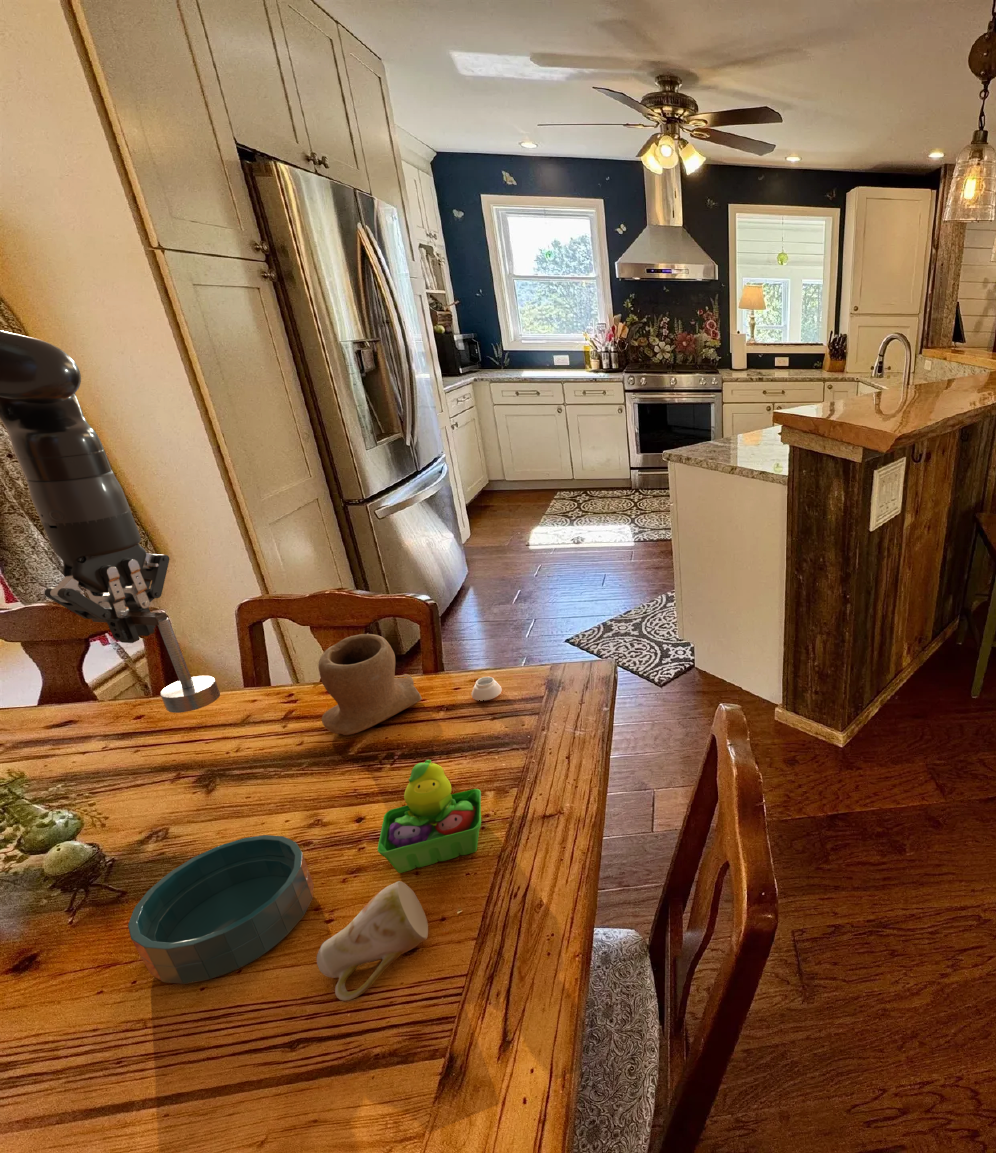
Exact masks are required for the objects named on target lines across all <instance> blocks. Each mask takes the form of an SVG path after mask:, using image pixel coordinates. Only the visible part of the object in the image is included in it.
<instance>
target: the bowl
mask: <svg viewBox="0 0 996 1153" xmlns="http://www.w3.org/2000/svg"><path fill="white" fill-rule="evenodd" d="M314 886H315V884H314V882H313V879H312V875H311V873H310V870H309V868H308V864H307V862H306V859H305V855H304V854H303V851H302V849H301V848H300V846H299V844H298V843H297V842H296V841H294V840H292V839H290V838H289V837H286V836H283V835H271V834H261V835H254V836H248V837H242V838H240V839H235V840H233V841H230V842H226V843H223V844H220V845H217V846H215V847H213V848H211V849H209V850H206V851H204V852H202V853H200V854H198V855H196V856H193V857H191V858H189V859H188V860H187V861H185V862H184V863H182V864H180V865H179V866H177V867H176V868H174V869H172V870H171V871H170V872H168V873H167V874H165V875H164V876H163V877H162V878H161V879H159V880H158V881H157V882H156V883H155V884H154V885H153V886H152V887H150V888H149V889H148V890H147V891H146V893H145V894H144V895H143V896H142V898H141V899H140V900H139V901H138V903H137V904H136V905H135V906H134V908H133V911H132V913H131V916H130V918H129V921H128V923H127V928H128V932H129V937H130V940H131V942H132V943H133V945H134V948H135V949H136V951H137V952H138V954H139V956H140V958H141V960H142V962H143V964H144V966H145V967H146V969H147V971H148V973H149V975H151V976H153V977H154V978H156V979H157V980H159V981H160V982H161V983H168V984H177V985H178V984H180V985H186V984H187V985H188V984H192V983H197V982H203V981H209V980H212V979H215V978H218V977H222V976H224V975H228V974H230V973H232V972H235V971H237V970H240V969H241V968H244V967H245V966H247V965H249V964H251V963H253V962H254V961H256V960H257V959H259V958H261V957H262V956H264V955H265V954H266V953H268V952H270V951H271V950H272V949H273V948H274V947H276V946H277V945H279V943H281V942H282V941H283V940H284V939H285V938H286V937H287V936H288V935H289V934H290V933H291V932H292V931H293V930H294V928H296V926H297V925H298V924H299V923H300V921H301V920H302V919H303V918H304V917H305V915H306V913H307V911H308V909H309V907H310V905H311V903H312V902H313V899H314V888H315V887H314Z"/></svg>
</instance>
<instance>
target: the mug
mask: <svg viewBox="0 0 996 1153" xmlns="http://www.w3.org/2000/svg"><path fill="white" fill-rule="evenodd" d="M428 935H429V923H428V919H427V916H426V913H425V911H424V908H423V906H422V904H421V902H420V901H419V898H418V896H417V895H416V893H415V892H414V890H413V889H412V888H411V887H410V886H408V885H407V883H405V882H403V881H402V880H398V881H396V882H394V883H392V884H391V883H390V884H388V885H387V886H386V887H384V888H382V889H381V890H379V891H378V892H377V893H376V894H375V895H374V896H373V897H372V898H371V899H370V900H369V901H368V902H367V903H366V904H365V905H364V906H363V908H362V909H361V910H360V911H359V912H358V914H357V915H356V916H355V917H354V918H353V919H352V920H351V921H350V922H349V923H348V924H347V925H346V926H345V927H344V928H342V929H341V930H339V931H338V932H337V933H335V934H334V935H332V936H331V937H329V938H328V939H326V940H324V941H323V942H322V944H321V945H320V947H319V950H318V952H317V954H316V965H317V968H318V970H319V972H320V973H321V974H322V975H323V976H324V977H327V978H331V979H338V980H337V983H336V984H335V987H334V995H335V997H336V998H337V999H338V1000H339V1001H342V1002H346V1001H351V1000H354V999H356V998H358V997H359V996H361V995H362V994H364V993H365V992H367V990H368V989H370V988H371V987H372V985H373V984H374V983H375V982H376V981H377V980H378V978H379V977H380V976H381V975H382V974H383V972H384V971H385V970H386V969H387V968H388V967H389V966H391V964H392V963H394V962H395V961H397V959H398V958H399V957H400V956H401V955H403V954H405V953H407V952H409V951H411V950H413V949H415V948H416V947H417V946H419V945H420V944H421V943H423V942H424V941H426V940H427V939H428ZM380 960H381V962H380V963H379V964H378V966H377V967H376V968H375V969H374V971H373V973H372V974H371V975H370V976H369V977H368V979H366V980H365V982H364V983H363V984H362V985H361V986H359V987H358V988H356V989H354V990H350V991H348V990H347V988H346V982H347V979H348V978H350V976H351V975H353V973H354V972H355V971H356V969H357V968H358V967H360V966H362V965H365V964H367V963H371V962H375V961H376V962H377V961H380Z"/></svg>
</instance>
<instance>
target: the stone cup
mask: <svg viewBox="0 0 996 1153" xmlns="http://www.w3.org/2000/svg"><path fill="white" fill-rule="evenodd" d="M317 668H318V672H319V677H320V680H321V683H322V686H323V687H324V689H325V690H326V692H327V693H328V694H329V695H330V696H331V697H332V698H333V700H334V701H335V702H336V703H337V704H336V705H334V706H333V707H331V708H329V709H328V710H326V711H325V712H324V713H323V714H322V716H321V722H322V725H323V727H324V728H325V729H326V730H328V731H329V732H330V733H332V734H335V735H344V736H349V735H355V734H357V733H360V732H363V731H365V730H368V729H370V728H373V727H374V726H376V725H378V724H380V723H382V722H384V721H386V720H388V719H390V718H392V717H394V716H395V715H397V714H399V713H401V712H403V711H404V710H406V709H409V708H410V707H412V706H414V705H416V704H418V703H419V702H421V701H422V699H423V698H422V694H421V693H420V692H419V691H418V689H417V687H416V686H415V683H414V678H413V677H412V676H411V675H409V674H408V673H404V674H401V675H399V676H398V677H407V678H397V677H395V676H396V673H395V672H396V655H395V651H394V650H393V648H392V646H391V644H390V643H389V642H388V641H387V639H386V638H384V637H383V636H380V635H379V634H372V633H361V634H356V635H351V636H348V637H345V638H343V639H341V640H340V641H338V642H337V643H335V644H333V645H332V646H329V647H328V648H326V649H325V650H324V651H323V653H322V654H321V655H320V657H319V660H318V667H317Z"/></svg>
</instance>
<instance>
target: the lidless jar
mask: <svg viewBox="0 0 996 1153" xmlns="http://www.w3.org/2000/svg"><path fill="white" fill-rule="evenodd" d="M502 691H503V688H502V686H501V684H500V683H498V681H497V680H496V679H495V678H494V677H493V676H483V677H480V678H478V679H477V680H476V681H475V684H474V685H473V688H472V690H471V698H472V699H473V700H474V701H479V700H480V701H479V702H481V701H482V702H483V700H484V701H490V700H493V699H495V698H497V697H499V695H501V694H502Z"/></svg>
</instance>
